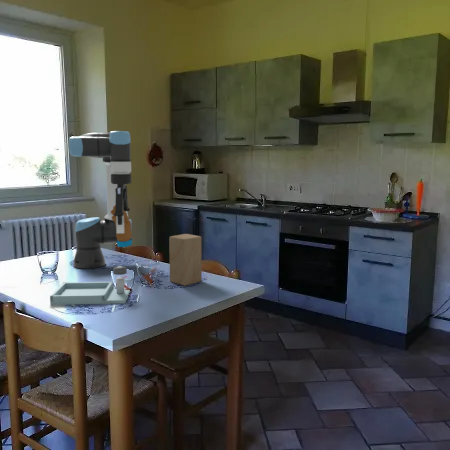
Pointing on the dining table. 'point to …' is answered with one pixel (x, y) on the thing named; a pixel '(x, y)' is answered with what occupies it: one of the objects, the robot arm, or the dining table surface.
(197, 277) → the wooden block
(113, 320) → the dining table surface
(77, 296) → the tray
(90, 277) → the dining table surface
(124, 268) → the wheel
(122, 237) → the toy
